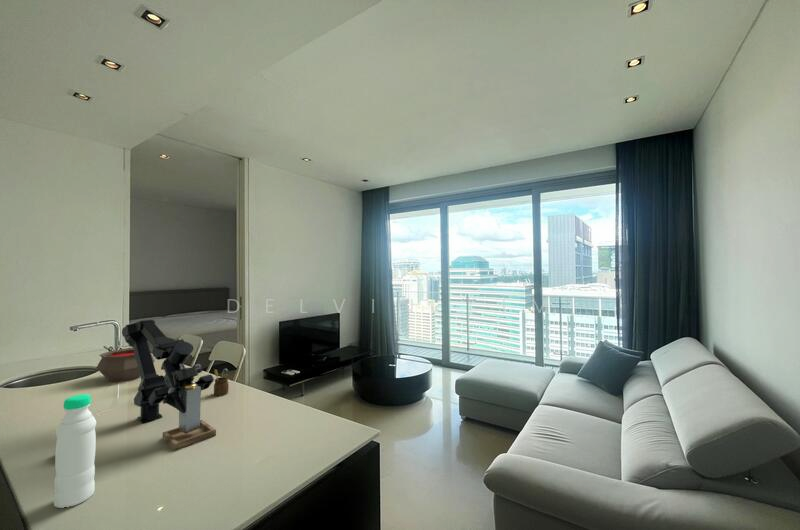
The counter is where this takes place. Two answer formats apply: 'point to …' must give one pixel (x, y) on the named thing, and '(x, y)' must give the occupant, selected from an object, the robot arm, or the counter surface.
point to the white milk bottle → (75, 453)
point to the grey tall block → (190, 408)
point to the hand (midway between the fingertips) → (192, 409)
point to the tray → (188, 436)
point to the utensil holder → (220, 385)
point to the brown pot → (119, 365)
